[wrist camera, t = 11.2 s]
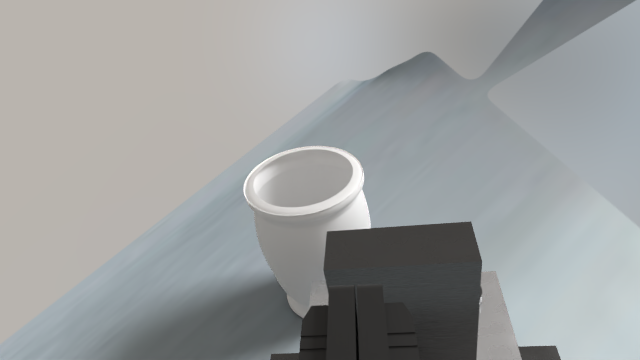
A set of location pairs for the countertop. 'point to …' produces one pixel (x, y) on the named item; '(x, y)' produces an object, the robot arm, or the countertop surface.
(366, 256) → the lid
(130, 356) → the countertop surface
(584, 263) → the countertop surface
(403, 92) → the countertop surface
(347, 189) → the jar
